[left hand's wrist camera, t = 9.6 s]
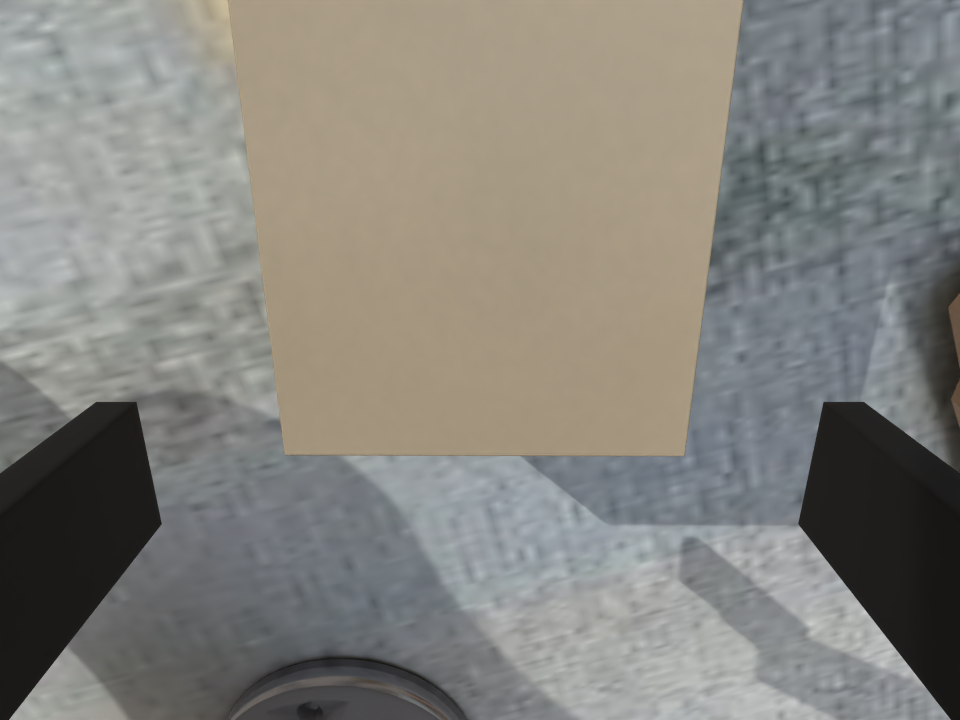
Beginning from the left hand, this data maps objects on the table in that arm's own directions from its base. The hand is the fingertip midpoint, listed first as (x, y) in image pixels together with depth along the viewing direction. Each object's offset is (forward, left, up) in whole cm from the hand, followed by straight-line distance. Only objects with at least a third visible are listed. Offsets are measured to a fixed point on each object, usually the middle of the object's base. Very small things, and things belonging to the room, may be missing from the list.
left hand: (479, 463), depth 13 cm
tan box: (+5, +3, -17) cm, 18 cm away
